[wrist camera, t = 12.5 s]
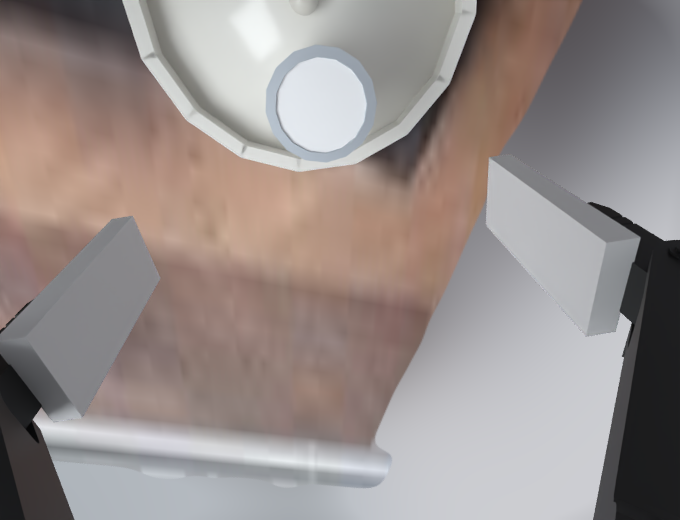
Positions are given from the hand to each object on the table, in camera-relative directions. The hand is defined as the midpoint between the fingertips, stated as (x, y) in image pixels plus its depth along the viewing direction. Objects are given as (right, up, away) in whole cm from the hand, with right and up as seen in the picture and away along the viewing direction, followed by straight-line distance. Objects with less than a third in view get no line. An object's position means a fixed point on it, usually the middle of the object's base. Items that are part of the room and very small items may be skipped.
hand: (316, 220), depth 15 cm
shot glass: (-1, +11, +16) cm, 20 cm away
